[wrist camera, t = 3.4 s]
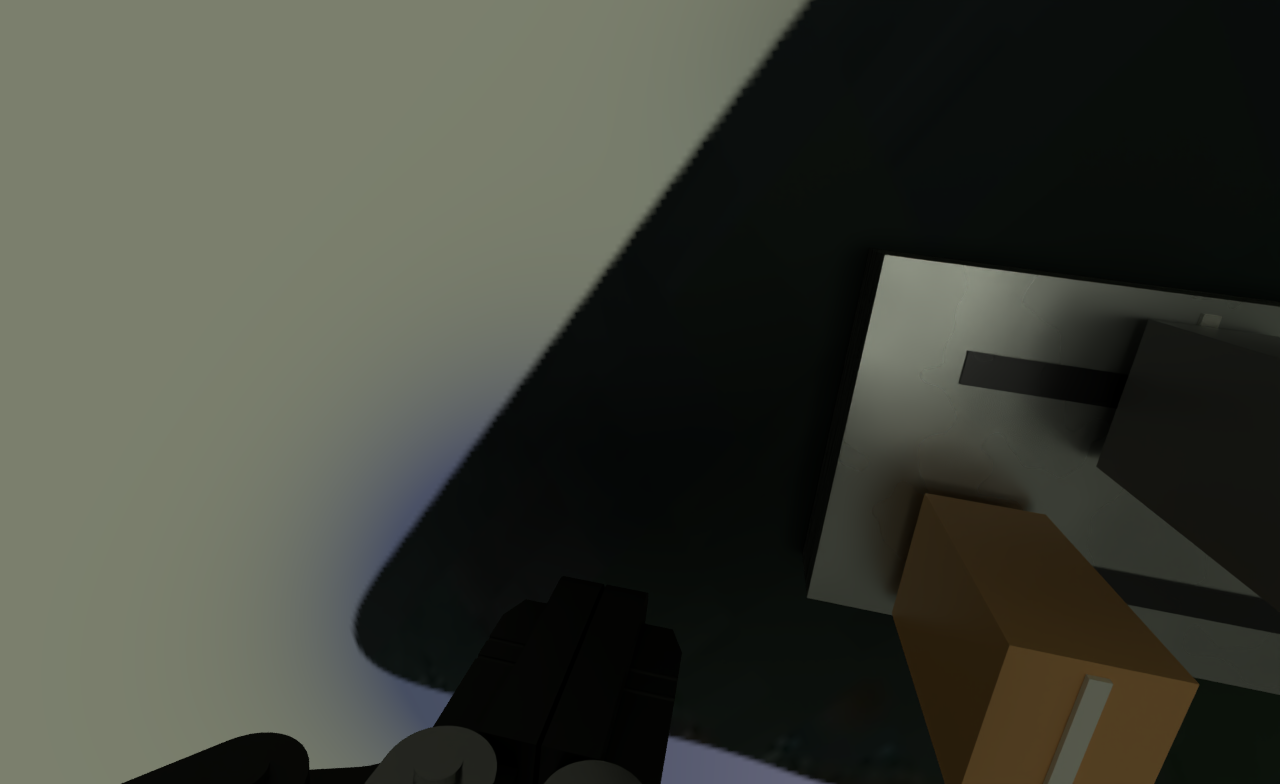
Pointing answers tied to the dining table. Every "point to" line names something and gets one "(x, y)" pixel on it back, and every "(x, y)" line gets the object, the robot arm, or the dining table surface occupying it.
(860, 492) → the console
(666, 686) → the robot arm
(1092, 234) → the dining table surface
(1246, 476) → the fader
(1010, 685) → the fader
